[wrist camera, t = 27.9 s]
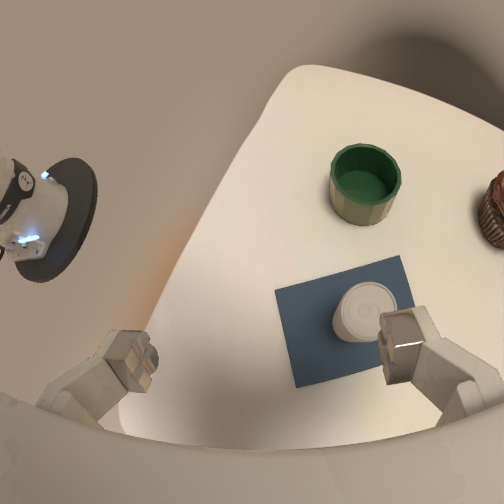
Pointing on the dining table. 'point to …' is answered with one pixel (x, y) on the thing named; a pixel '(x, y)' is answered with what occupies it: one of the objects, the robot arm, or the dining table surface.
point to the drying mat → (321, 316)
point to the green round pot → (363, 183)
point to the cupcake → (493, 212)
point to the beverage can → (362, 312)
